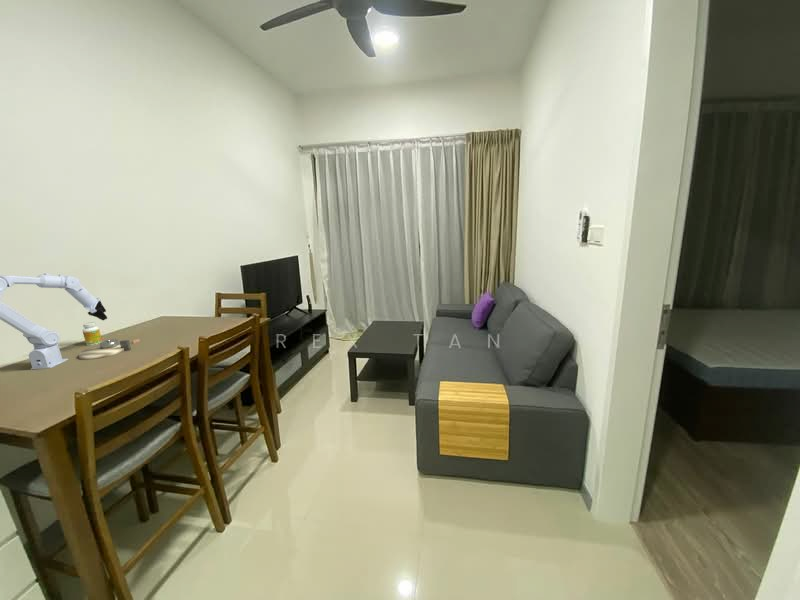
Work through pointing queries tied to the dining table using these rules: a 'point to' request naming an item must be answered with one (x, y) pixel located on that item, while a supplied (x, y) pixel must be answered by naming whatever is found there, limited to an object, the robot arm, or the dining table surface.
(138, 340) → the peach rectangular brick
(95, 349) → the turntable
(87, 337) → the supplement bottle
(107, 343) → the cover
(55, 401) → the dining table surface
